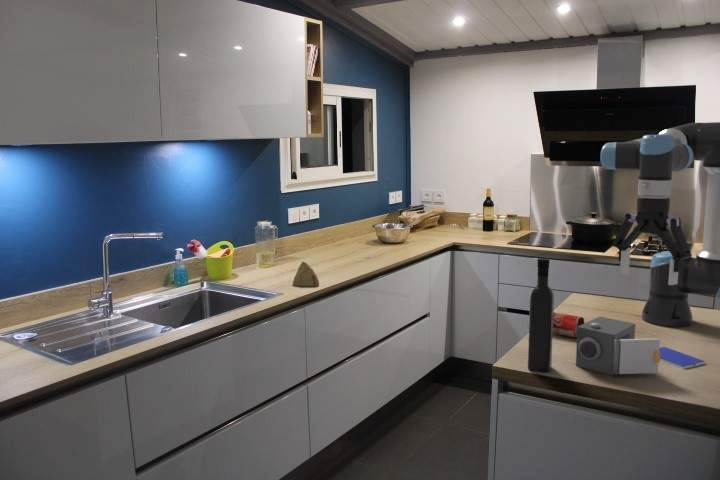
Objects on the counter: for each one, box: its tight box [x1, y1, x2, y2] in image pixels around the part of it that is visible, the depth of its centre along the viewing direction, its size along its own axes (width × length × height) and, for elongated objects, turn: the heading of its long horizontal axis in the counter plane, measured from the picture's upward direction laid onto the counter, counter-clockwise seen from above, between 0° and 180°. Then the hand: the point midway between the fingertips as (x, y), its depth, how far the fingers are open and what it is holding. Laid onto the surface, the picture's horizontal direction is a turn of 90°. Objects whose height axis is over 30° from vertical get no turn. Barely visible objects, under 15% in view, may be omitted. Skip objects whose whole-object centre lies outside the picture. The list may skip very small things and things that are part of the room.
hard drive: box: [659, 346, 706, 370], centre depth 173 cm, size 2×8×12 cm
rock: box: [292, 261, 320, 287], centre depth 261 cm, size 11×9×10 cm
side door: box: [613, 337, 661, 375], centre depth 159 cm, size 12×2×9 cm, turn 92°
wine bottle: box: [527, 257, 555, 373], centre depth 165 cm, size 6×6×30 cm
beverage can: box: [553, 312, 586, 339], centre depth 194 cm, size 7×12×7 cm, turn 54°
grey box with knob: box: [575, 316, 636, 376], centre depth 168 cm, size 15×10×12 cm
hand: (647, 279), depth 160 cm, fingers open, 13 cm apart
